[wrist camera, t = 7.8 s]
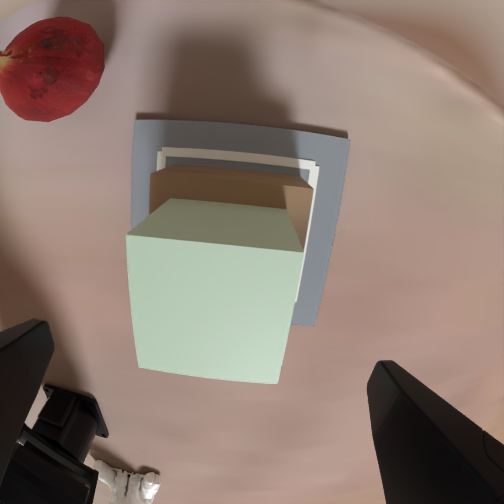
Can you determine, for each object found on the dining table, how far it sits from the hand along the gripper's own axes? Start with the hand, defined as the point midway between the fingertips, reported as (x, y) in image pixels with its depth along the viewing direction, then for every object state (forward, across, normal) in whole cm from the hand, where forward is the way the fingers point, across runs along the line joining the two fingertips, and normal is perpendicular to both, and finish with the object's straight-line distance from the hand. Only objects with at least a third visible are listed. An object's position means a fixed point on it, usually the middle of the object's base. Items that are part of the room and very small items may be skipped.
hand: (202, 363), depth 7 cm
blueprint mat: (+12, 0, 0) cm, 12 cm away
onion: (+12, +10, -9) cm, 18 cm away
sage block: (+7, 0, 0) cm, 7 cm away
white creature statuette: (+12, +11, +36) cm, 40 cm away
